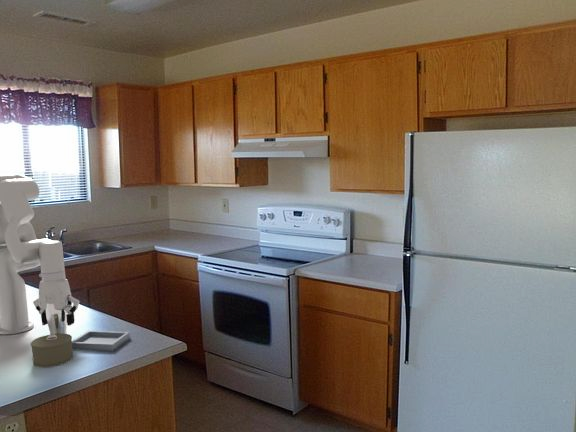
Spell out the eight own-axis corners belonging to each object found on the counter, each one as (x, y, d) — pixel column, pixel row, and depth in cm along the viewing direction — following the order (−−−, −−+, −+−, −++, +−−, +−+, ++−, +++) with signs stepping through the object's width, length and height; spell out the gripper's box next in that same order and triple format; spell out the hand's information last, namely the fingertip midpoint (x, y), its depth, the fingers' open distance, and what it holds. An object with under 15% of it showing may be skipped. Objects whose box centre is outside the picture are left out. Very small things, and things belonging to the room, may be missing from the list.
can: (31, 370, 159) (29, 349, 158) (33, 357, 170) (31, 337, 169) (73, 363, 163) (72, 342, 163) (73, 350, 174) (71, 331, 174)
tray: (69, 349, 175) (68, 342, 175) (89, 337, 187) (88, 330, 187) (113, 351, 172) (112, 344, 172) (130, 338, 184) (129, 332, 184)
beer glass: (61, 346, 178) (58, 304, 177) (43, 345, 180) (40, 303, 178) (73, 339, 185) (70, 298, 183) (56, 338, 187) (53, 298, 185)
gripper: (24, 279, 178) (29, 327, 179) (69, 278, 174) (74, 328, 176) (38, 274, 185) (43, 320, 187) (82, 273, 182) (86, 321, 184)
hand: (58, 324), depth 181 cm, fingers open, 9 cm apart
